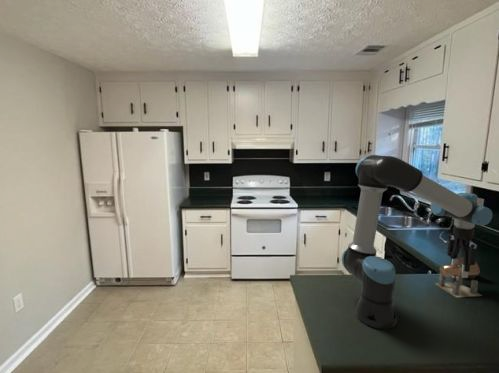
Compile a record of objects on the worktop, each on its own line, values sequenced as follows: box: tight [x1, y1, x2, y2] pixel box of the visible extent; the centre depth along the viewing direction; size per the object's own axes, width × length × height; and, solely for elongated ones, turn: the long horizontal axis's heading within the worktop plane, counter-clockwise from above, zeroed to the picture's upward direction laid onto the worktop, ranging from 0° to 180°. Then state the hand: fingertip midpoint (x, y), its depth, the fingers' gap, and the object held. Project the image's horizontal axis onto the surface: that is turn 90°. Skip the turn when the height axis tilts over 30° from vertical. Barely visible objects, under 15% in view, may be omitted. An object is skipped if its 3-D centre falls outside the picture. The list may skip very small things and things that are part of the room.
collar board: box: [434, 272, 483, 298], centre depth 131 cm, size 13×13×7 cm
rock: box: [449, 256, 480, 280], centre depth 144 cm, size 12×10×10 cm
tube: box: [439, 264, 481, 278], centre depth 130 cm, size 16×5×5 cm, turn 97°
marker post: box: [449, 276, 456, 284], centre depth 137 cm, size 2×2×3 cm
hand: (458, 274), depth 130 cm, fingers closed on tube, 5 cm apart
